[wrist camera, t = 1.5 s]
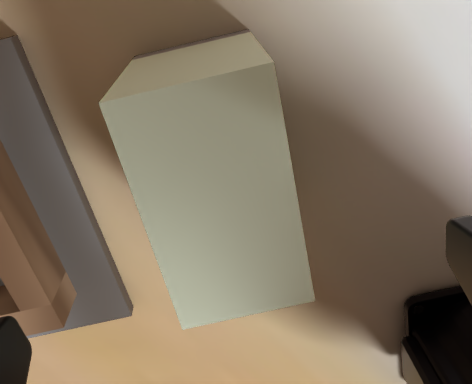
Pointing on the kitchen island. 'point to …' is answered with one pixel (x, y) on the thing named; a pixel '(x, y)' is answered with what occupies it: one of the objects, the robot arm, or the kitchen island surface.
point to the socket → (47, 218)
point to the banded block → (212, 176)
